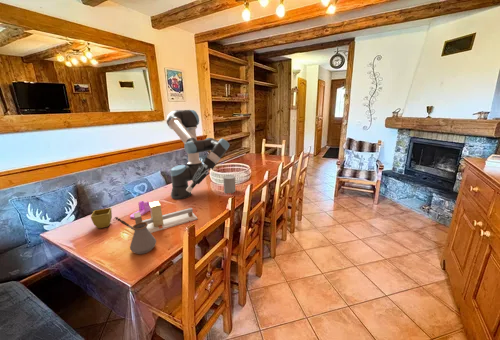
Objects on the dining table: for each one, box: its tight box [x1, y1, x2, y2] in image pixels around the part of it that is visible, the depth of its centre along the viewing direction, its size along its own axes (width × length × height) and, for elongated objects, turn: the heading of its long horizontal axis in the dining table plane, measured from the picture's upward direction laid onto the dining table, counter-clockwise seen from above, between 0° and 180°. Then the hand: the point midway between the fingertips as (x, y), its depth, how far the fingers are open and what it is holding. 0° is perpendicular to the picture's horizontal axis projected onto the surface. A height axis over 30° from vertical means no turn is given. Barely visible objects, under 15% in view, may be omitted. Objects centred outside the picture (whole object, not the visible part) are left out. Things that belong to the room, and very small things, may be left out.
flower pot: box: [90, 207, 113, 229], centre depth 126 cm, size 9×9×9 cm
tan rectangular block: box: [149, 200, 164, 227], centre depth 124 cm, size 7×5×12 cm
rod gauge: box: [133, 207, 198, 234], centre depth 127 cm, size 11×33×10 cm, turn 123°
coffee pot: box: [113, 216, 157, 255], centre depth 105 cm, size 21×12×15 cm, turn 71°
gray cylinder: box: [222, 174, 237, 194], centre depth 174 cm, size 10×10×12 cm
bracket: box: [129, 200, 150, 220], centre depth 140 cm, size 13×6×7 cm, turn 163°
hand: (187, 191), depth 132 cm, fingers closed
